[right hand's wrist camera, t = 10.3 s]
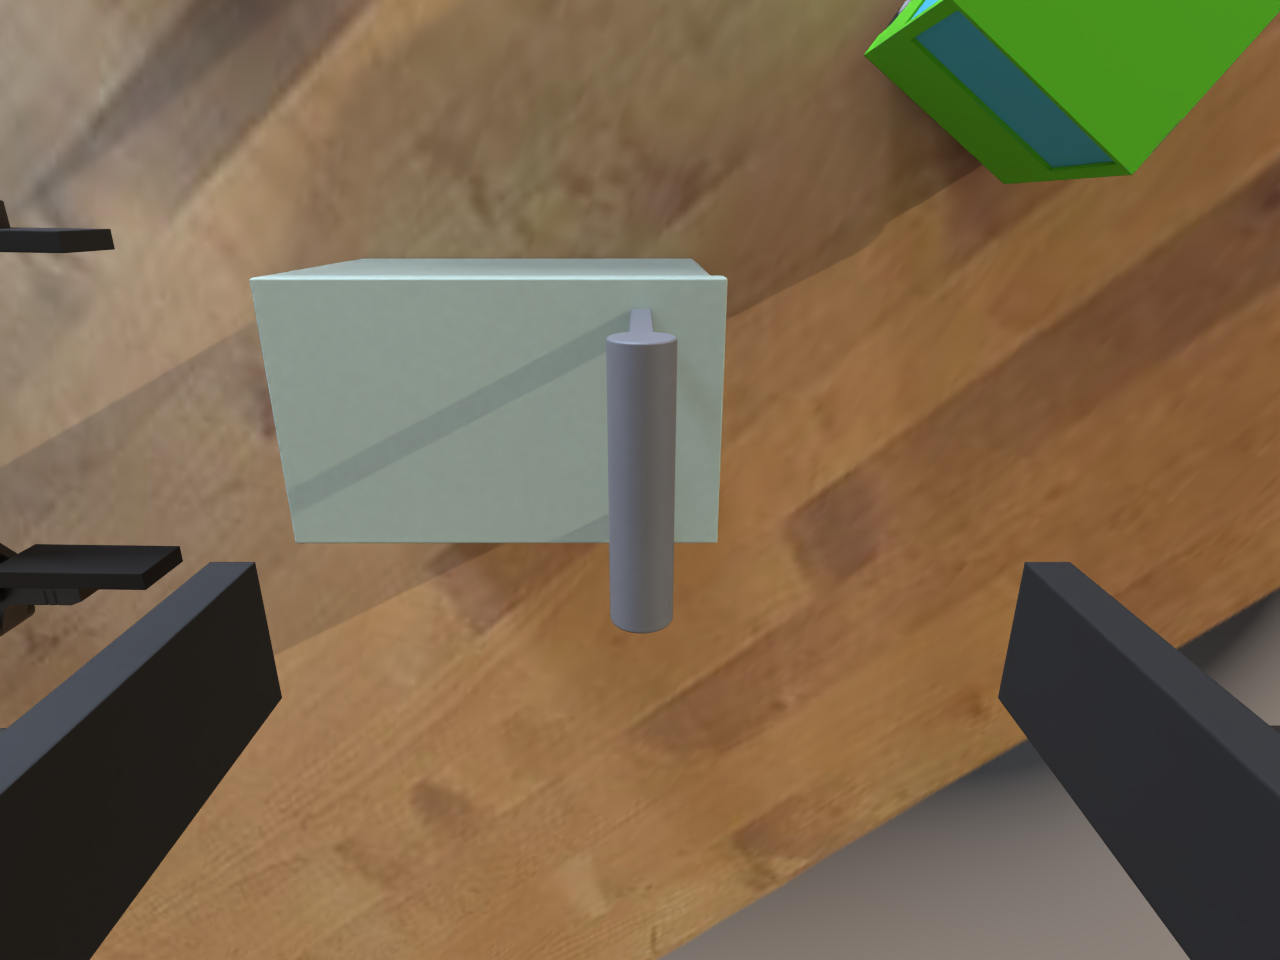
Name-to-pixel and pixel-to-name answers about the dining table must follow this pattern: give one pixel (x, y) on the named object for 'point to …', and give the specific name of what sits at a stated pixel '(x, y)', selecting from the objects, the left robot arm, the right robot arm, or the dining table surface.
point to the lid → (503, 414)
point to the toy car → (1063, 75)
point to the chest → (505, 267)
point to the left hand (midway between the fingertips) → (130, 416)
